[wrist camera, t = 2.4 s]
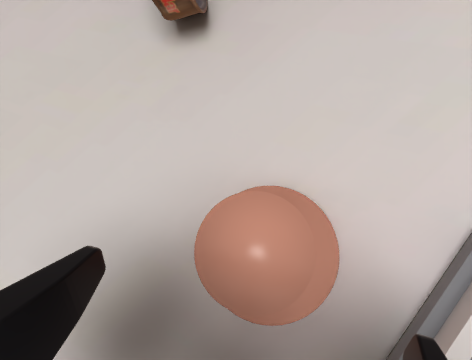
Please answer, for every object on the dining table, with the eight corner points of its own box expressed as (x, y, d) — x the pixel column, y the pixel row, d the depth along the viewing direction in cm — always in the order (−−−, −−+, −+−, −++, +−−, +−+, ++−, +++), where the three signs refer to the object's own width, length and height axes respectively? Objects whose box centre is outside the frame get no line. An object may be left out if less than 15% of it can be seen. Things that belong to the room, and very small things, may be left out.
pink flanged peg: (234, 328, 18) (178, 396, 9) (204, 215, 20) (132, 183, 11) (350, 295, 17) (405, 335, 9) (308, 181, 19) (320, 119, 10)
